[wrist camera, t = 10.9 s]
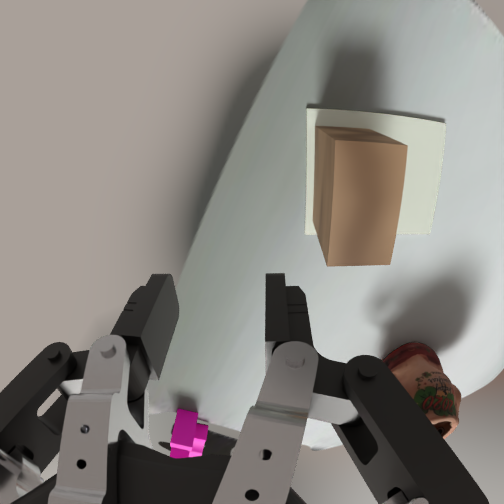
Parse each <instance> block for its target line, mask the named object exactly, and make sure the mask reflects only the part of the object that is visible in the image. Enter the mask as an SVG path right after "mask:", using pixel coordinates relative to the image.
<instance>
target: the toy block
mask: <svg viewBox="0 0 504 504" xmlns="http://www.w3.org/2000/svg"><path fill="white" fill-rule="evenodd" d="M197 418H198V413H196V412H191V411H187V410H182V409H178V410H177V415H176V419H175V424H174V429H173V433H172V438H171V442H170V446H171V453H170V457H172V458H186V457H196V456H201V455H202V451H203V447H204V444H205V441H206V439H207V432H208V425H206V424H200V423H197Z"/></svg>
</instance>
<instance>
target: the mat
mask: <svg viewBox="0 0 504 504" xmlns="http://www.w3.org/2000/svg"><path fill="white" fill-rule="evenodd" d="M315 126H333V127H351V128H365V129H371V130H374V131H376V132H378V133H381V134H383V135H385V136H388V137H390V138H392V139H394V140H397V141H399V142H401V143H403V144H405V145H408V150H407V161H406V171H405V179H404V187H403V195H402V202H401V208H400V215H399V221H398V227H397V232H396V234H430V232H431V227H432V222H433V217H434V212H435V207H436V202H437V196H438V190H439V184H440V177H441V170H442V163H443V154H444V145H445V134H446V123H442V122H436V121H431V120H425V119H419V118H413V117H406V116H399V115H391V114H382V113H373V112H363V111H351V110H335V109H312V108H306V203H305V232H304V233H305V235H317V233H316V230H315V227H314V224H313V221H312V220H313V195H314V155H315Z"/></svg>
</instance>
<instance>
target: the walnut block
mask: <svg viewBox="0 0 504 504" xmlns="http://www.w3.org/2000/svg"><path fill="white" fill-rule="evenodd" d="M407 150H408V145H405V144H403V143H401V142H399V141H397V140H394V139H392V138H390V137H388V136H385V135H383V134H381V133H378V132H376V131H374V130H371V129H365V128H351V127H333V126H315V155H314V195H313V220H312V221H313V224H314V227H315V230H316V233H317V236H318V239H319V242H320V245H321V249H322V252H323V255H324V258H325V261H326V265H327V266H364V265H390V262H391V258H392V253H393V248H394V243H395V238H396V232H397V227H398V221H399V215H400V208H401V202H402V195H403V187H404V179H405V171H406V161H407Z"/></svg>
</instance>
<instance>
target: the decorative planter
mask: <svg viewBox="0 0 504 504" xmlns="http://www.w3.org/2000/svg"><path fill="white" fill-rule="evenodd" d="M383 362H384V363H385V364H386V365H387V367H388V368H389V369H390V370H391V372H392V373H393V374H394V375H395V377H396V378H397V379H398V380H399V382H400V383H401V384H402V385H403V387H404V388H405V389H406V391H407V392H408V393H409V394H410V396H411V397H412V398H413V399H414V401H415V402H416V403H417V405H418V406H419V407H420V408H421V410H422V411H423V412H424V414H425V415H426V416H427V417H428V419H429V420H430V421H431V423H432V424H433V425H434V427H435V428H436V429H437V431H438V432H439V433H440V434H441V436H442V437H443V438H444V439H445V438H446V437H447V436H448V435H450V434H451V433H452V432H453V431H454V430H455V428H456V426H457V425H458V424H459V418H458V412H459V405H460V402H461V393H460V391H459V390H458V388H457V387H456V386H455V385H453V384H452V383H451V381H450V380H449V378H448V377H447V376H446V375H445V374H444V373H443V369H442V366H441V363H440V360H439V358H438V356H437V355H436V353H435V352H434V351H433V350H432V349H431V348H430V347H429V346H427V345H425V344H422V343H408V344H405V345H403V346H401V347H399V348H397V349H396V350H395V351H393V352H392V353H390V354H389V355H388V356H387V357H386V358H385V359H384V360H383Z"/></svg>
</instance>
